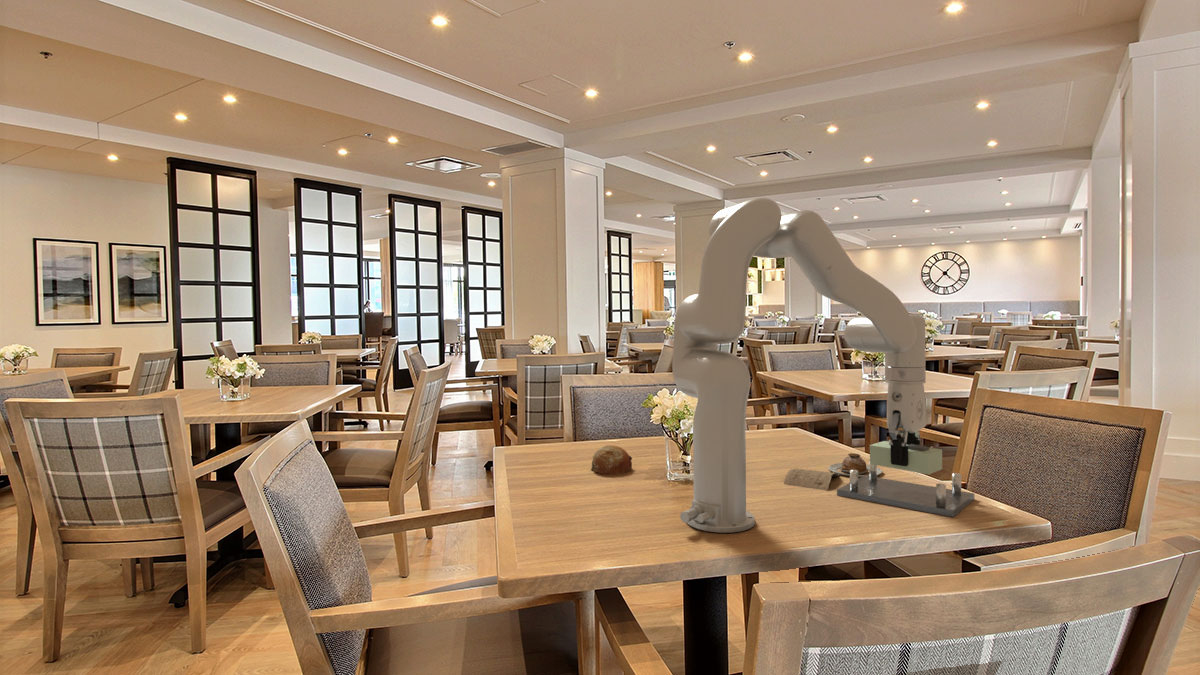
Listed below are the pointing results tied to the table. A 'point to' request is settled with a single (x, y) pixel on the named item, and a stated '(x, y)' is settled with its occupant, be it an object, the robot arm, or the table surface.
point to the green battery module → (918, 457)
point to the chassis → (908, 493)
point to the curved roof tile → (809, 478)
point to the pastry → (852, 466)
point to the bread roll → (611, 460)
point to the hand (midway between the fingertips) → (905, 460)
